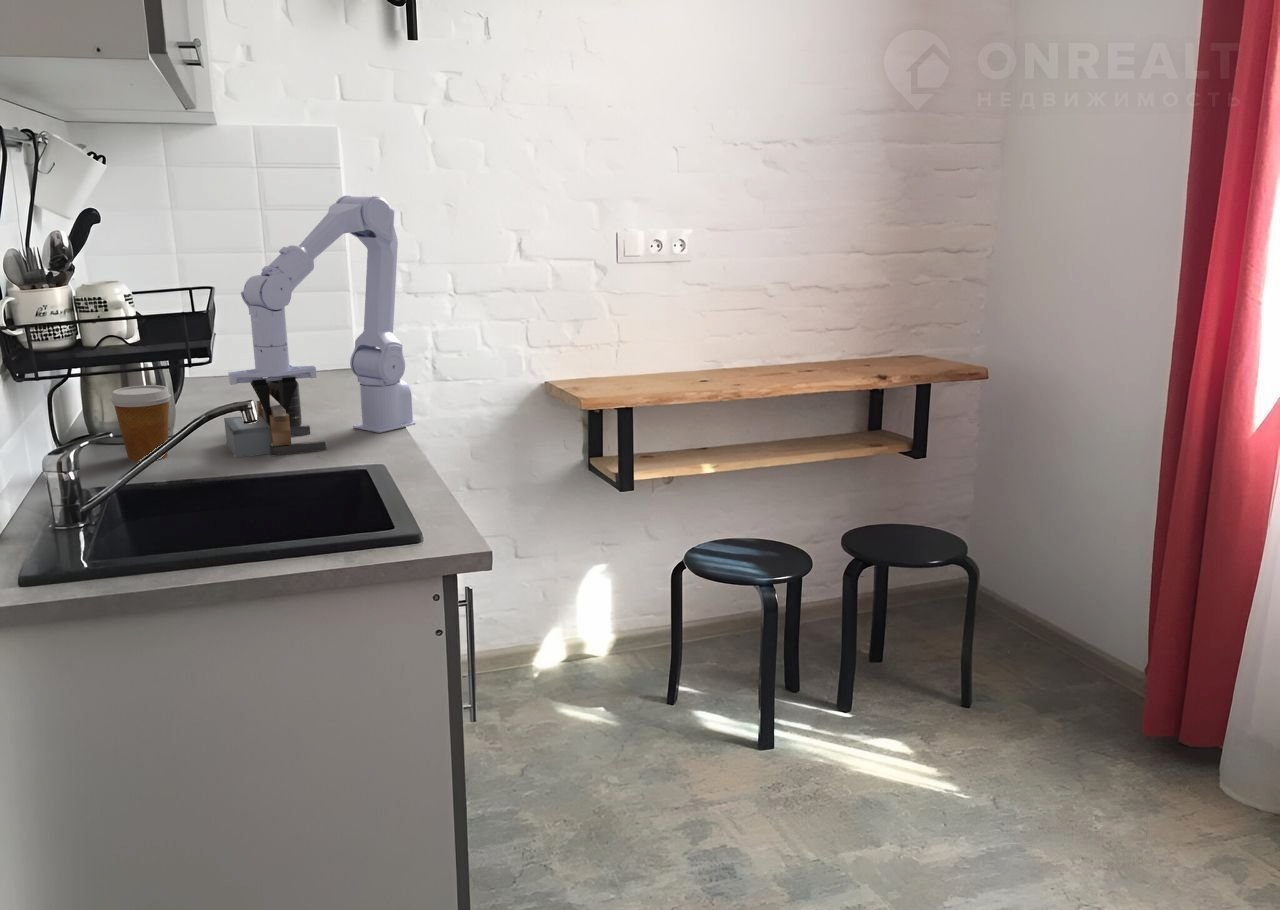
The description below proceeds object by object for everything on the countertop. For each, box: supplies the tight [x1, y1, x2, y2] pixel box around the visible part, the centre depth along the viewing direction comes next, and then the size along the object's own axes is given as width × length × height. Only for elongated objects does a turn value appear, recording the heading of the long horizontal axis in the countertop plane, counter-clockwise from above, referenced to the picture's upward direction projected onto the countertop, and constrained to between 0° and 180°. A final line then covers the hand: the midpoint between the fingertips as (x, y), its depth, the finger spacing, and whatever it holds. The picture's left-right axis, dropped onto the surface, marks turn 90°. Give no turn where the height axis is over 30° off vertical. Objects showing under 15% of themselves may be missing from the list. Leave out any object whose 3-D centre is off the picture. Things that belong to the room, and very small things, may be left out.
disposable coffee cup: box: [110, 384, 172, 463], centre depth 186 cm, size 10×10×12 cm
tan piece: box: [256, 395, 292, 446], centre depth 195 cm, size 3×16×7 cm, turn 28°
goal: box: [223, 414, 273, 458], centre depth 193 cm, size 6×11×5 cm, turn 28°
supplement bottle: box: [266, 364, 303, 427], centre depth 209 cm, size 7×7×12 cm
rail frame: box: [269, 424, 327, 457], centre depth 197 cm, size 10×15×2 cm, turn 28°
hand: (277, 420), depth 191 cm, fingers closed on tan piece, 2 cm apart
